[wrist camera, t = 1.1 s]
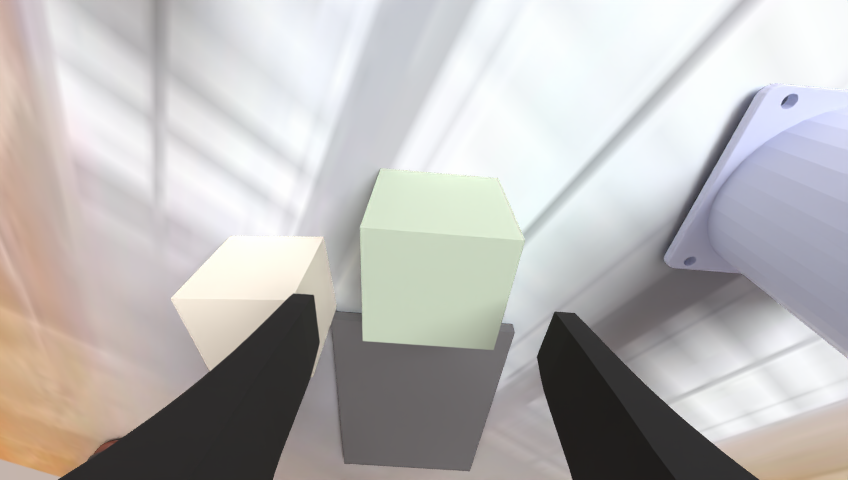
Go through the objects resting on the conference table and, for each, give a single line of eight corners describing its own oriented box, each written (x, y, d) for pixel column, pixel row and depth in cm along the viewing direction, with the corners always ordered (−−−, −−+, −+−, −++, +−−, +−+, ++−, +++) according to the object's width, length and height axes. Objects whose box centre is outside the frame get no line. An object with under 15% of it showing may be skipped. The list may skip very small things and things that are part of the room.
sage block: (497, 177, 14) (524, 240, 10) (478, 269, 17) (493, 350, 13) (381, 167, 14) (360, 227, 10) (379, 262, 17) (362, 340, 13)
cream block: (324, 235, 16) (291, 300, 12) (337, 305, 19) (313, 376, 15) (231, 235, 16) (170, 298, 12) (256, 304, 19) (211, 375, 15)
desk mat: (512, 324, 19) (514, 332, 18) (469, 462, 28) (469, 471, 27) (333, 311, 19) (330, 319, 18) (346, 455, 27) (344, 463, 27)
